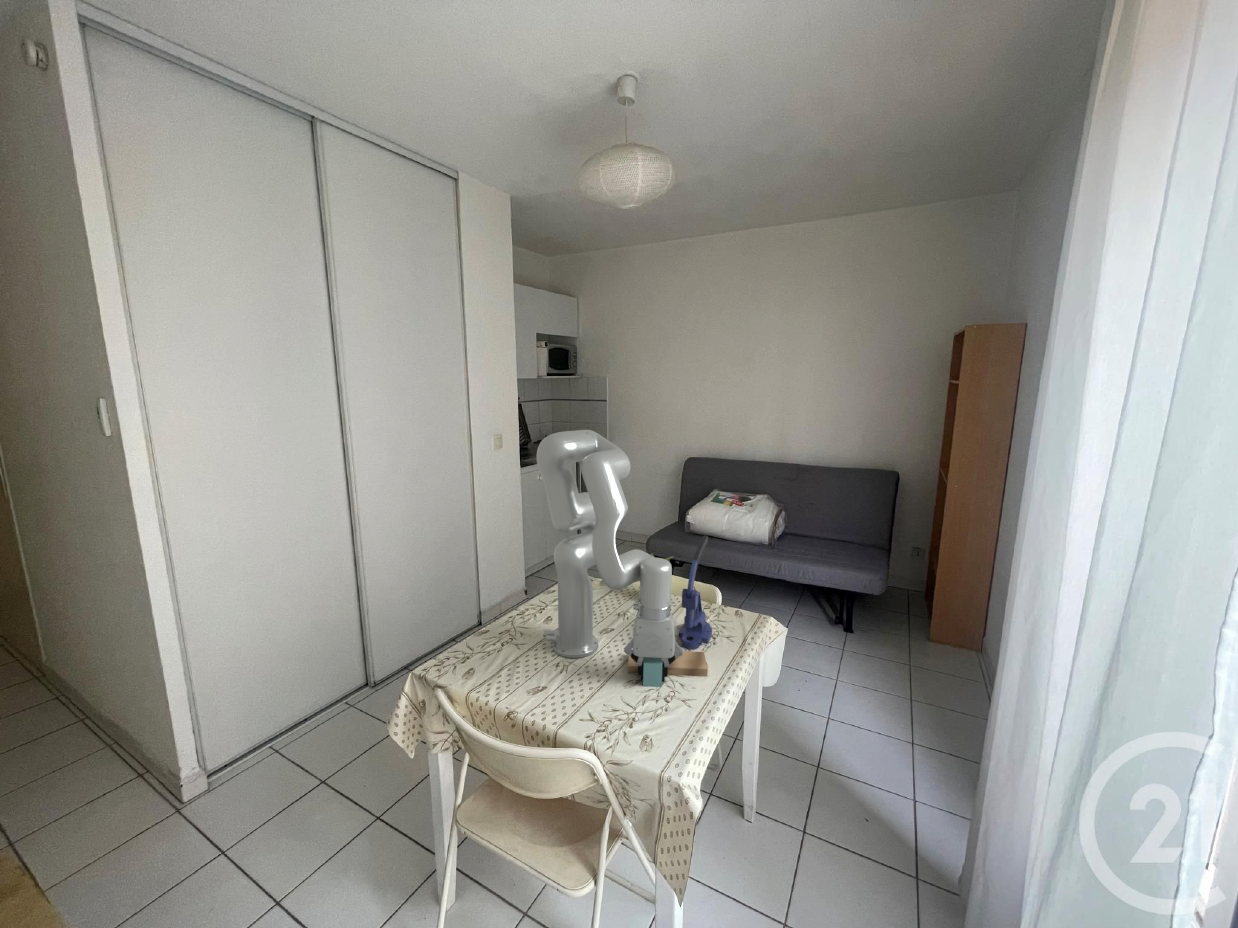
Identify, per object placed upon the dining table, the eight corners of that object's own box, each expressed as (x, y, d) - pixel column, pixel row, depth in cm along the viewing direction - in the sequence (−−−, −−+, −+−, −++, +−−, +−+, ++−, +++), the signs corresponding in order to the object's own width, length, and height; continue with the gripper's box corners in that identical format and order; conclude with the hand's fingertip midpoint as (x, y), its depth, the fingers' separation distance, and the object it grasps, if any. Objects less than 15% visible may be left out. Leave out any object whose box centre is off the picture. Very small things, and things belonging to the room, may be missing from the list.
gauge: (643, 686, 121) (643, 663, 120) (643, 662, 131) (643, 641, 130) (661, 686, 121) (662, 664, 120) (660, 662, 131) (660, 641, 130)
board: (627, 673, 126) (628, 665, 126) (628, 656, 134) (629, 649, 133) (707, 676, 125) (707, 668, 125) (703, 658, 133) (703, 651, 133)
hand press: (702, 655, 135) (706, 556, 130) (671, 648, 138) (674, 552, 133) (716, 624, 152) (720, 536, 147) (689, 619, 155) (692, 533, 150)
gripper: (618, 615, 117) (617, 685, 120) (691, 618, 116) (687, 689, 119) (620, 601, 124) (619, 667, 127) (688, 604, 123) (685, 671, 126)
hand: (652, 677), depth 123 cm, fingers closed on gauge, 4 cm apart
